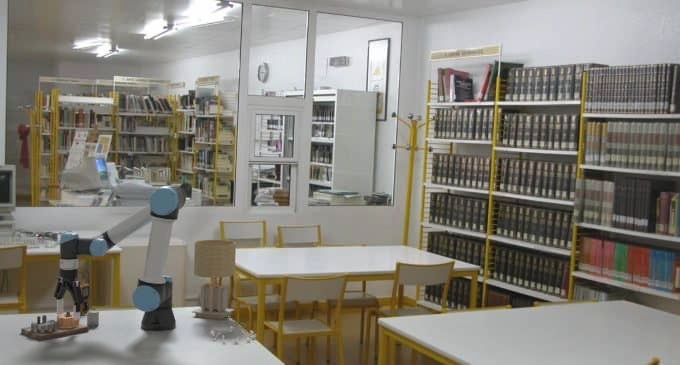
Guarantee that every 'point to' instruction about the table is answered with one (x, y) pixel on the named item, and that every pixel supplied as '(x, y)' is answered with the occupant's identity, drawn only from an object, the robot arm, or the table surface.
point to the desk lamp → (214, 275)
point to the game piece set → (233, 339)
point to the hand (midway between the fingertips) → (68, 316)
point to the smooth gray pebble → (92, 318)
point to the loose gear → (66, 321)
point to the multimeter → (85, 296)
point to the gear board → (51, 329)
